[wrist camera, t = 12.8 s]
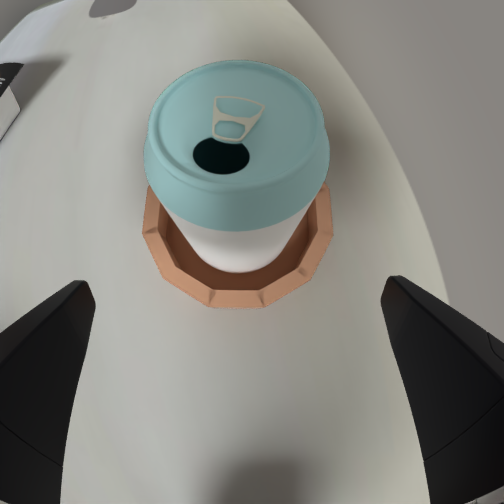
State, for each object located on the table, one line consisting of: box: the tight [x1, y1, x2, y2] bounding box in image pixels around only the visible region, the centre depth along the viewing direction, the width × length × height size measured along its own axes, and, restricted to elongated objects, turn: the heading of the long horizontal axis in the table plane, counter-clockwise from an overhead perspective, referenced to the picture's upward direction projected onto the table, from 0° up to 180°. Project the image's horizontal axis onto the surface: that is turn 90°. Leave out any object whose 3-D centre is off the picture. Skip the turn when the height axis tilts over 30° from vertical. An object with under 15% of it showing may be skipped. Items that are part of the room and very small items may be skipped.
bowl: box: [142, 182, 333, 309], centre depth 19 cm, size 12×12×4 cm
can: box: [144, 60, 330, 274], centre depth 14 cm, size 7×7×12 cm
